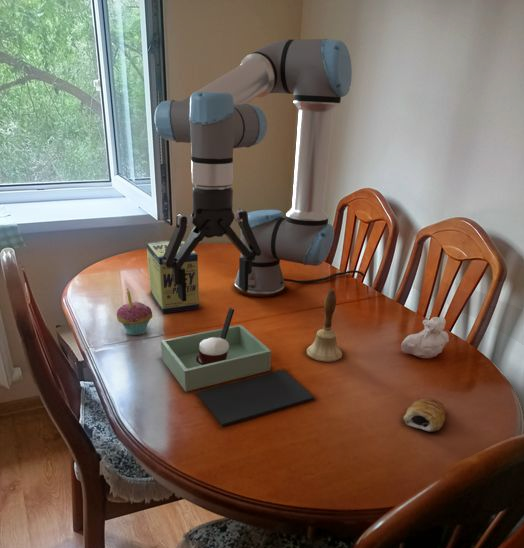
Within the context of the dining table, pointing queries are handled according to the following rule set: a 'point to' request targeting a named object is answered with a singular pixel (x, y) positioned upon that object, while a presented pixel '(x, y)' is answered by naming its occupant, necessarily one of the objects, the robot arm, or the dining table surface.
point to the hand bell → (326, 335)
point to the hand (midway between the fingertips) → (213, 294)
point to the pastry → (425, 415)
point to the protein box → (171, 280)
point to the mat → (253, 397)
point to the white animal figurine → (427, 339)
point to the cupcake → (134, 316)
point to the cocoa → (215, 345)
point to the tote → (239, 363)
